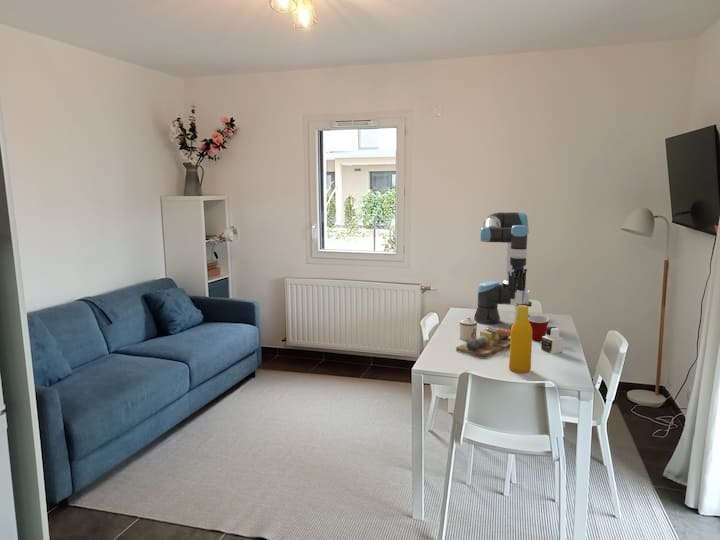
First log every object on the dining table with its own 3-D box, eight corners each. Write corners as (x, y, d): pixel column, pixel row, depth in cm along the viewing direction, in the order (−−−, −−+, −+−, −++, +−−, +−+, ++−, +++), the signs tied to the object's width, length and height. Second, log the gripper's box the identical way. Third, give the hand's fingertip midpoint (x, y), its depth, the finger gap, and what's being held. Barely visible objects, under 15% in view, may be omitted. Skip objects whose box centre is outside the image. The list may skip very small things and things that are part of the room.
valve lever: (485, 330, 275) (485, 327, 275) (488, 329, 277) (488, 325, 277) (509, 336, 265) (509, 332, 265) (512, 335, 267) (513, 331, 267)
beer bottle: (529, 367, 248) (532, 304, 243) (531, 374, 239) (534, 309, 234) (508, 365, 250) (511, 303, 245) (509, 372, 241) (512, 308, 236)
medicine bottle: (540, 350, 272) (542, 326, 270) (552, 348, 275) (553, 325, 273) (551, 354, 266) (552, 330, 264) (562, 352, 268) (564, 328, 266)
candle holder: (542, 313, 347) (544, 287, 344) (542, 322, 324) (544, 295, 321) (501, 310, 354) (502, 285, 352) (499, 319, 332) (500, 293, 329)
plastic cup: (523, 340, 288) (524, 318, 286) (532, 336, 296) (533, 314, 294) (543, 344, 281) (544, 321, 279) (552, 340, 289) (553, 317, 287)
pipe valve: (492, 337, 293) (493, 321, 292) (519, 344, 282) (520, 327, 280) (456, 350, 271) (456, 333, 270) (483, 358, 260) (484, 339, 258)
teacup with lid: (474, 341, 286) (475, 320, 284) (457, 339, 290) (458, 318, 288) (479, 335, 297) (480, 314, 295) (462, 333, 301) (463, 313, 299)
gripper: (520, 254, 275) (518, 300, 279) (501, 258, 264) (499, 305, 267) (534, 256, 270) (532, 302, 274) (515, 260, 258) (513, 308, 262)
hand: (516, 304), depth 271 cm, fingers open, 4 cm apart
